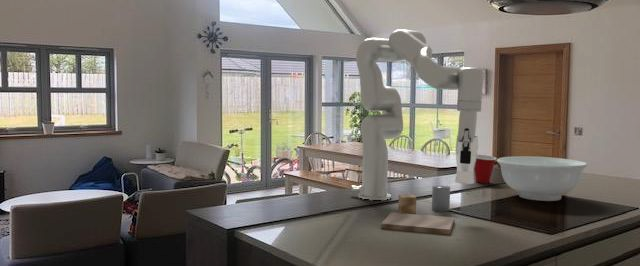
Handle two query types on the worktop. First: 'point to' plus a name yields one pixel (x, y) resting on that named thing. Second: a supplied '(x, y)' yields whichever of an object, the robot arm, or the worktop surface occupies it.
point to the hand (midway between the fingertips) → (465, 161)
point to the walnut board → (418, 223)
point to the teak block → (407, 204)
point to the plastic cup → (484, 168)
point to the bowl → (541, 176)
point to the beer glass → (466, 170)
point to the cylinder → (440, 198)
